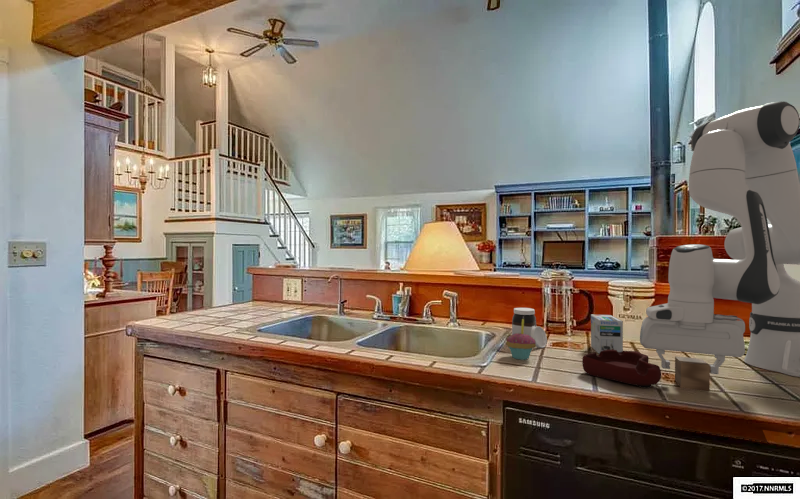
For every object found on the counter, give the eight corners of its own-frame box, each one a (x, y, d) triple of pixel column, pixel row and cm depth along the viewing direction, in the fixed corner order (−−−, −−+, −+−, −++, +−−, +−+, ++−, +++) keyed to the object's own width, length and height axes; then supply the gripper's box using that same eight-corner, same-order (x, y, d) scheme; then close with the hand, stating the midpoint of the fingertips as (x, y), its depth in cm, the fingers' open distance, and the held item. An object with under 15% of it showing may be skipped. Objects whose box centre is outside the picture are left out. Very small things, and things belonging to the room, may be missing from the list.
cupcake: (511, 352, 124) (511, 313, 124) (539, 356, 119) (539, 316, 119) (501, 358, 117) (501, 318, 117) (530, 363, 112) (530, 321, 112)
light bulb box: (623, 356, 119) (623, 320, 119) (599, 355, 120) (599, 320, 120) (612, 347, 129) (612, 314, 129) (589, 346, 131) (589, 313, 130)
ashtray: (578, 364, 112) (578, 346, 112) (644, 369, 107) (644, 351, 107) (587, 385, 95) (587, 364, 95) (665, 393, 90) (665, 371, 90)
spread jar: (515, 338, 141) (515, 306, 141) (548, 342, 136) (548, 308, 136) (508, 346, 131) (508, 311, 130) (545, 350, 126) (545, 314, 126)
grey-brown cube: (702, 383, 96) (702, 358, 96) (709, 391, 91) (709, 365, 91) (674, 380, 98) (675, 356, 98) (680, 388, 93) (680, 362, 93)
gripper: (739, 314, 93) (738, 372, 93) (639, 307, 101) (638, 361, 101) (751, 318, 87) (749, 381, 88) (643, 311, 95) (642, 368, 96)
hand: (689, 370), depth 95 cm, fingers open, 8 cm apart
